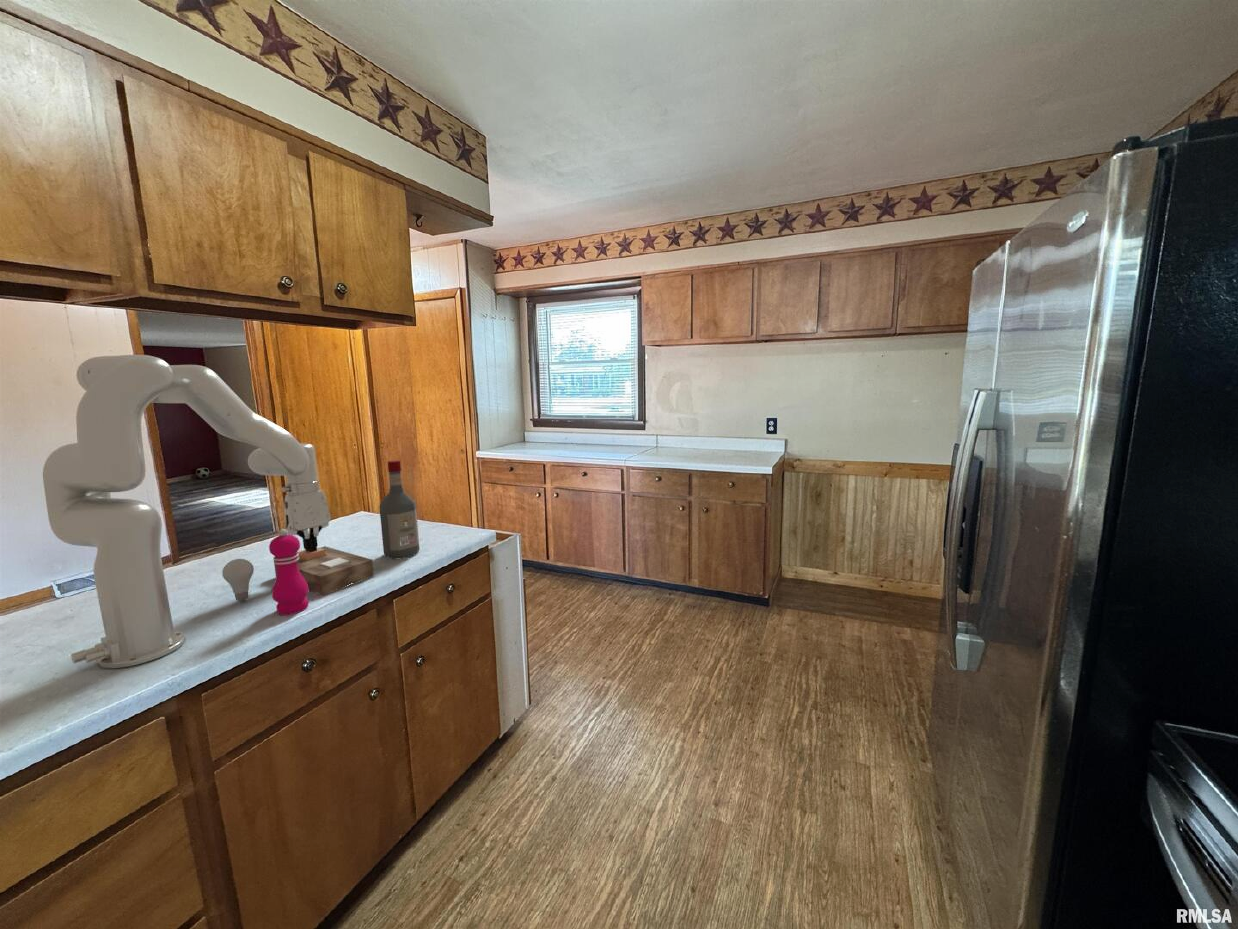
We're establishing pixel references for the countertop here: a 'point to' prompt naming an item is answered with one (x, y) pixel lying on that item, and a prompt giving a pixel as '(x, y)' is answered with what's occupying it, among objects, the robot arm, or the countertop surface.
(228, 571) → the lightbulb
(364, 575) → the block
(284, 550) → the pepper mill
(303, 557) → the orange cube
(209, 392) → the robot arm
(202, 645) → the countertop surface
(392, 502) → the liquor
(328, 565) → the white cube
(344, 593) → the countertop surface
